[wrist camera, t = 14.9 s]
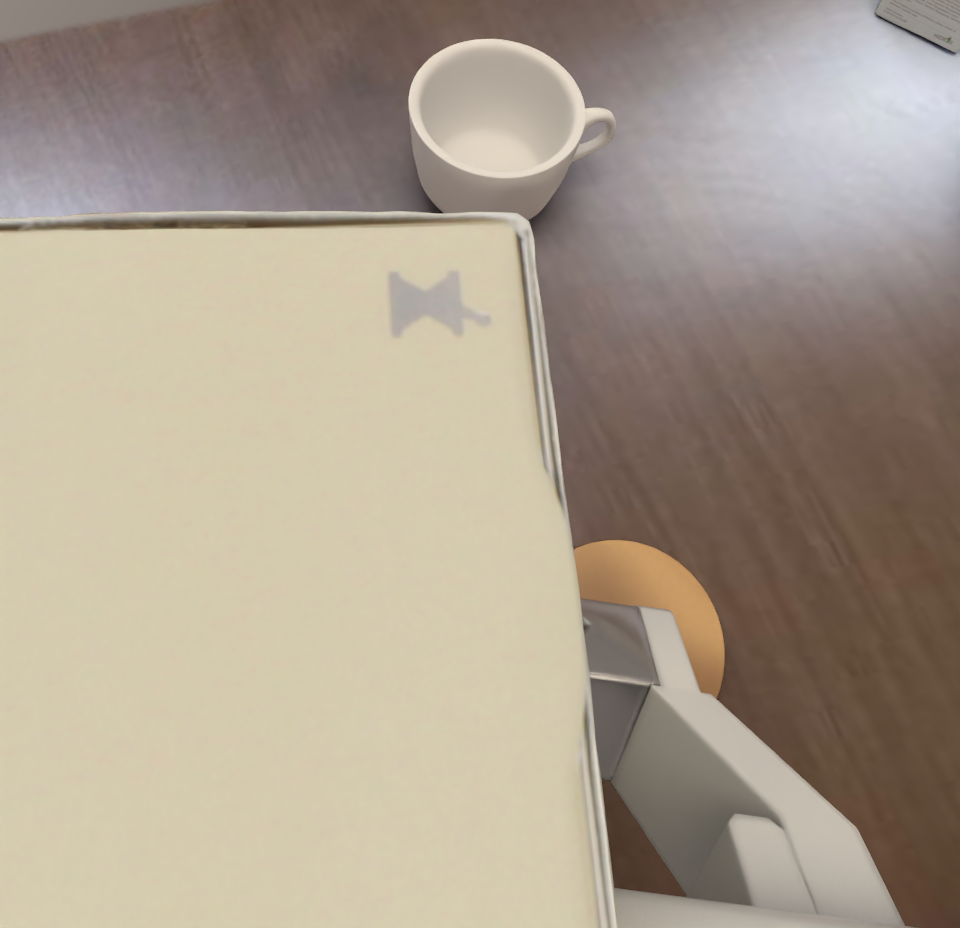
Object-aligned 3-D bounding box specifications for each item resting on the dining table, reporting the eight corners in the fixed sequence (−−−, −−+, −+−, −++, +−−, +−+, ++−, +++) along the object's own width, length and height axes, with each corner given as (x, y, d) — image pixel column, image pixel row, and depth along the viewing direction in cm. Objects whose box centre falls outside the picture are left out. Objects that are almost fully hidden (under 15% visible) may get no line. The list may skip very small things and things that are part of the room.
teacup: (423, 262, 34) (427, 189, 29) (394, 133, 36) (393, 43, 31) (615, 237, 35) (651, 164, 30) (577, 115, 37) (605, 27, 32)
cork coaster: (717, 772, 28) (721, 774, 28) (503, 742, 28) (504, 742, 28) (725, 558, 31) (728, 557, 31) (530, 526, 31) (531, 524, 30)
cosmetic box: (263, 519, 16) (-71, 161, 5) (444, 508, 17) (536, 165, 5) (263, 814, 15) (-263, 1370, 3) (465, 792, 15) (669, 1188, 4)
